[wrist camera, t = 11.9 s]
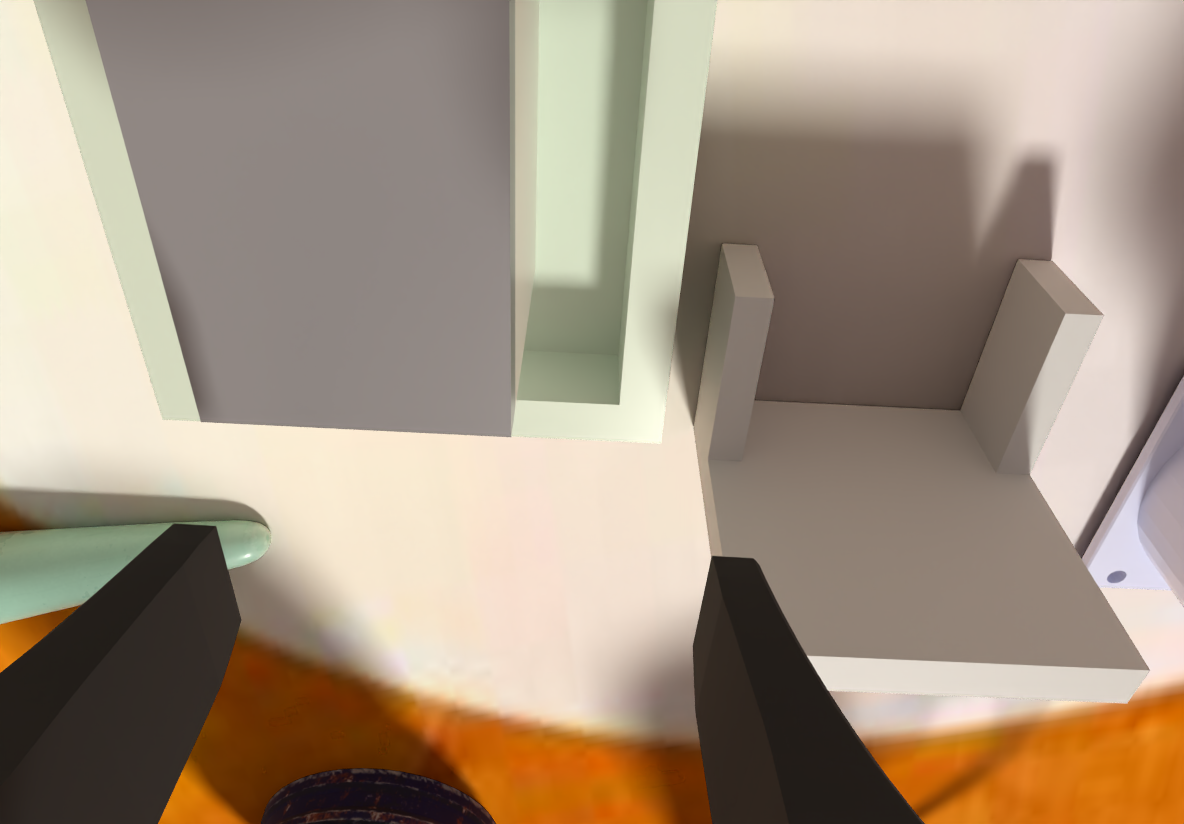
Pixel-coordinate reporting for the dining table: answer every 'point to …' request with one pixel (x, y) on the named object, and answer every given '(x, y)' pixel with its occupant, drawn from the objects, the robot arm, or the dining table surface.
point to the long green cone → (94, 561)
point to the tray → (563, 209)
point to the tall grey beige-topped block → (337, 201)
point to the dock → (914, 509)
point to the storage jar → (372, 800)
